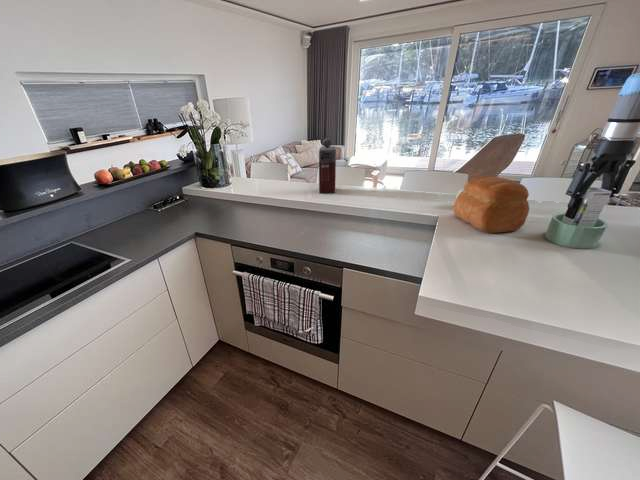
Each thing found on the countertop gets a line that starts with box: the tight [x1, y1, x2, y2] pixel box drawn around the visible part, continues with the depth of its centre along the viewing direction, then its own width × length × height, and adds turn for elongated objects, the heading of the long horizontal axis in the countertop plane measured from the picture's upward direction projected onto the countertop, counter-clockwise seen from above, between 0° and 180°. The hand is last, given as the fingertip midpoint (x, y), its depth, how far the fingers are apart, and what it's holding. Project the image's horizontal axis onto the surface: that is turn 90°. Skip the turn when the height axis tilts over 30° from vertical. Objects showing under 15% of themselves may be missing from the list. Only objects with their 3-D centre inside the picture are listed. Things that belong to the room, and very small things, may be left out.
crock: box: [544, 212, 609, 250], centre depth 93 cm, size 13×13×7 cm
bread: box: [453, 175, 530, 234], centre depth 107 cm, size 18×21×17 cm
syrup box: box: [561, 185, 612, 227], centre depth 90 cm, size 6×6×14 cm
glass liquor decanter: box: [318, 138, 337, 195], centre depth 156 cm, size 9×11×28 cm
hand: (580, 216), depth 91 cm, fingers closed on syrup box, 6 cm apart
